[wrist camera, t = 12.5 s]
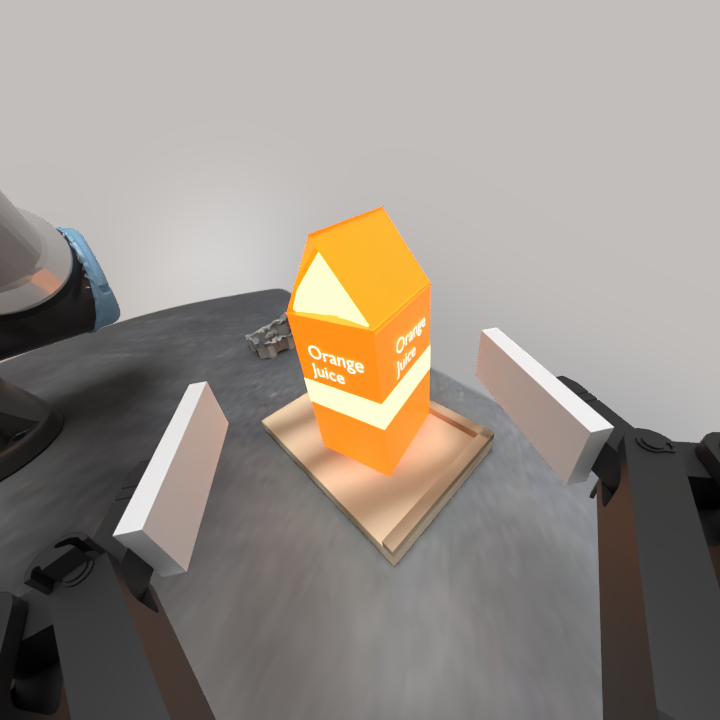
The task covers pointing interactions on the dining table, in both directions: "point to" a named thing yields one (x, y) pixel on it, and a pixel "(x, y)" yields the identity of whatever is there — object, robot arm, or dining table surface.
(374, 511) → the serving board
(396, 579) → the dining table surface
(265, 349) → the egg carton
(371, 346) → the orange juice
